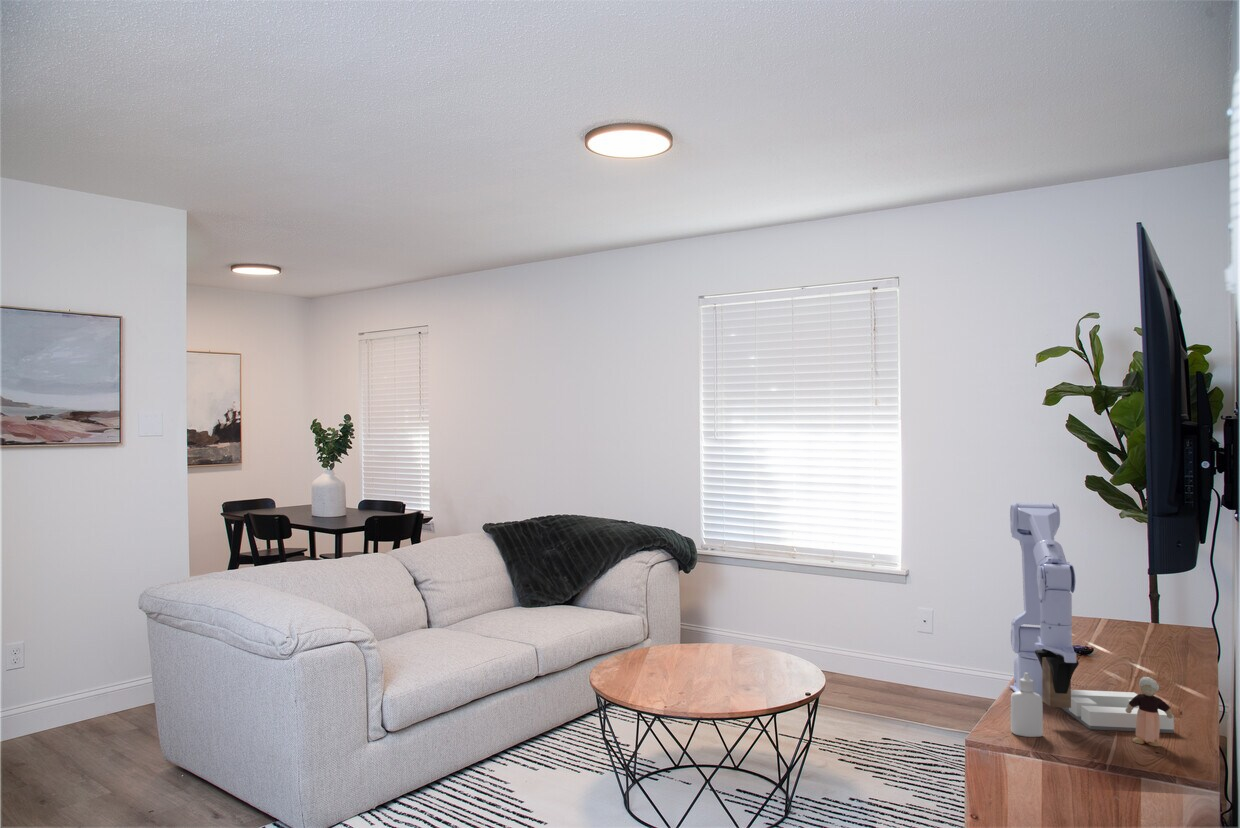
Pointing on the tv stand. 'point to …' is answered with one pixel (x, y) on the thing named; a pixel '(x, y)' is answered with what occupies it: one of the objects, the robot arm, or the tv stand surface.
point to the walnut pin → (1048, 689)
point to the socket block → (1110, 711)
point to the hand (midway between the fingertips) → (1056, 689)
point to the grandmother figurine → (1148, 712)
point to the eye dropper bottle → (1026, 710)
